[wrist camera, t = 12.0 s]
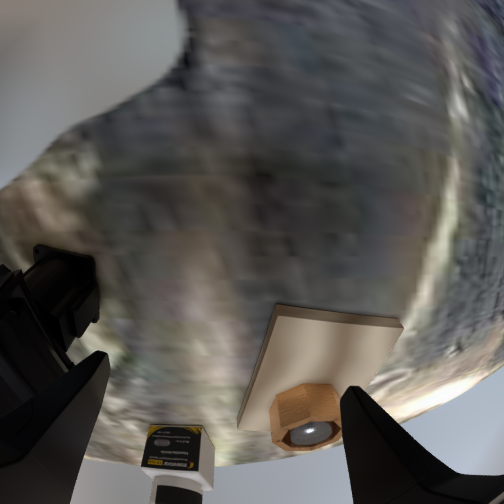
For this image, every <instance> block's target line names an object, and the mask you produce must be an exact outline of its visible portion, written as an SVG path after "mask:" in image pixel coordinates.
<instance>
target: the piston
mask: <svg viewBox="0 0 504 504" xmlns="http://www.w3.org/2000/svg"><path fill="white" fill-rule="evenodd" d="M289 431H290V438H291V441H292V442H293V443H295V444H299V445H309V444H314V443H318V442H320V441H323V440H325V439H326V438H328V437H329V436H330V435H331V434H332V427H331V423H330V421H311V422H309V423H306V424H303V425H301V426H298V427H295V428H293V429H290V430H289Z"/></svg>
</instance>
